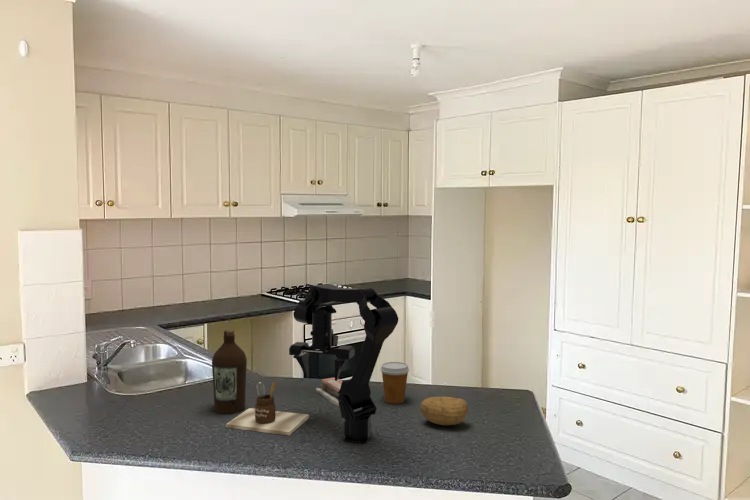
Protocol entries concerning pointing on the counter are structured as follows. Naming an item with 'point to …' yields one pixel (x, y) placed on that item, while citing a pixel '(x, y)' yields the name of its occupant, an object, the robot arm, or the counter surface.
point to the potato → (444, 410)
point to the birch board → (281, 425)
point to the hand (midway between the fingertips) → (321, 379)
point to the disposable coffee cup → (394, 381)
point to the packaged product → (330, 389)
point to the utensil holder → (265, 407)
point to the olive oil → (229, 376)
